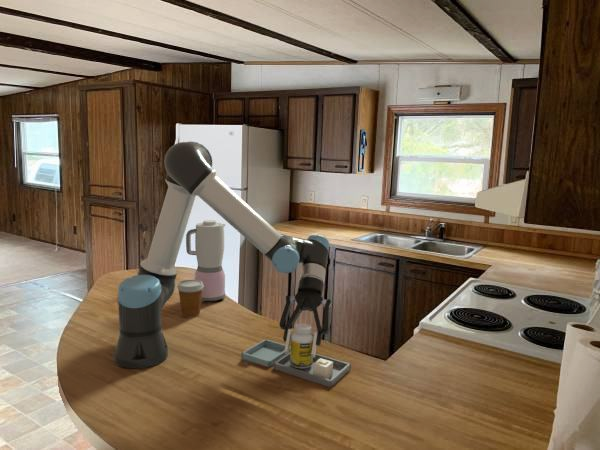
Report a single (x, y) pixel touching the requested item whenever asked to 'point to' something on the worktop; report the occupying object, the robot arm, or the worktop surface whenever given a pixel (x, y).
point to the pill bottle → (301, 346)
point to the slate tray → (264, 353)
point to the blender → (209, 258)
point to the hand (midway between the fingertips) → (299, 354)
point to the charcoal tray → (307, 373)
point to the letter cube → (323, 368)
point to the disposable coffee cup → (190, 297)
